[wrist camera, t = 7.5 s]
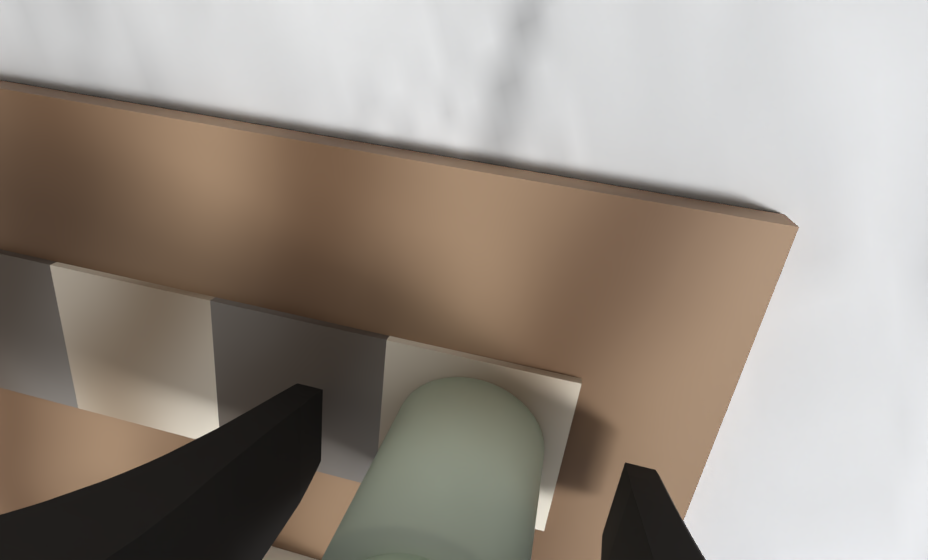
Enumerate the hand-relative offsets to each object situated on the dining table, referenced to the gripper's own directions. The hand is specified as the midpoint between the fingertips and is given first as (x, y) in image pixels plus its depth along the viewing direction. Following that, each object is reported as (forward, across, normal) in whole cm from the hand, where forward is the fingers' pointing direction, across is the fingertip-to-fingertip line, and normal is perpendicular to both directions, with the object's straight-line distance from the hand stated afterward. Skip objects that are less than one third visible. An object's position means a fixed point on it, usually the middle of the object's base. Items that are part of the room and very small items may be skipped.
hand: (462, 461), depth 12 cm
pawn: (+1, 0, 0) cm, 1 cm away
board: (+2, +5, +2) cm, 6 cm away
